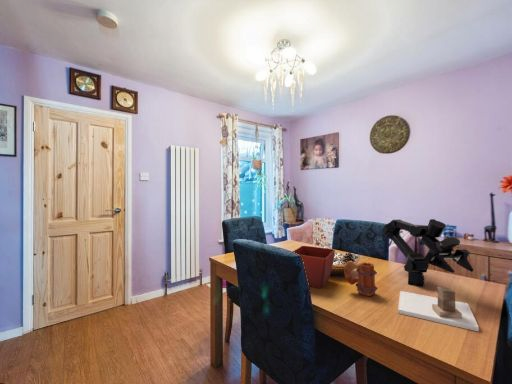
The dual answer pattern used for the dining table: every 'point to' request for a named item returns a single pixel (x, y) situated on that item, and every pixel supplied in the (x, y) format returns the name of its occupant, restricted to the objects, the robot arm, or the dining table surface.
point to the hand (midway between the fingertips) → (463, 271)
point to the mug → (362, 277)
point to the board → (423, 309)
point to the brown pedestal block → (446, 304)
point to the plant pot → (317, 264)
